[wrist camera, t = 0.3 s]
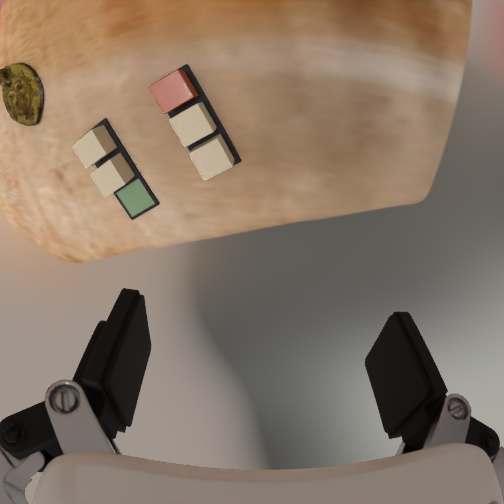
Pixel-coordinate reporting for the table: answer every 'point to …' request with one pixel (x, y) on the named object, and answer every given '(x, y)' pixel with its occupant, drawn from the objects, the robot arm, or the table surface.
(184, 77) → the rust orange cube
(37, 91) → the seal
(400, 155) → the table surface
